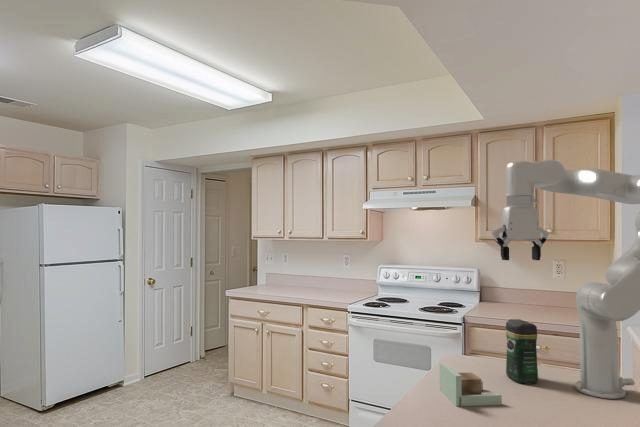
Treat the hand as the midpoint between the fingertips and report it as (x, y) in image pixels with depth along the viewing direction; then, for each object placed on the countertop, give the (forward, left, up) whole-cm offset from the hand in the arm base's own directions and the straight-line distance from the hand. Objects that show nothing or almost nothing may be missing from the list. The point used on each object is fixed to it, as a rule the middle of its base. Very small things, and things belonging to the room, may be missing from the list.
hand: (520, 260), depth 133 cm
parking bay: (+18, +4, -38) cm, 42 cm away
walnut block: (+19, +4, -38) cm, 43 cm away
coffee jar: (-5, -9, -38) cm, 40 cm away
